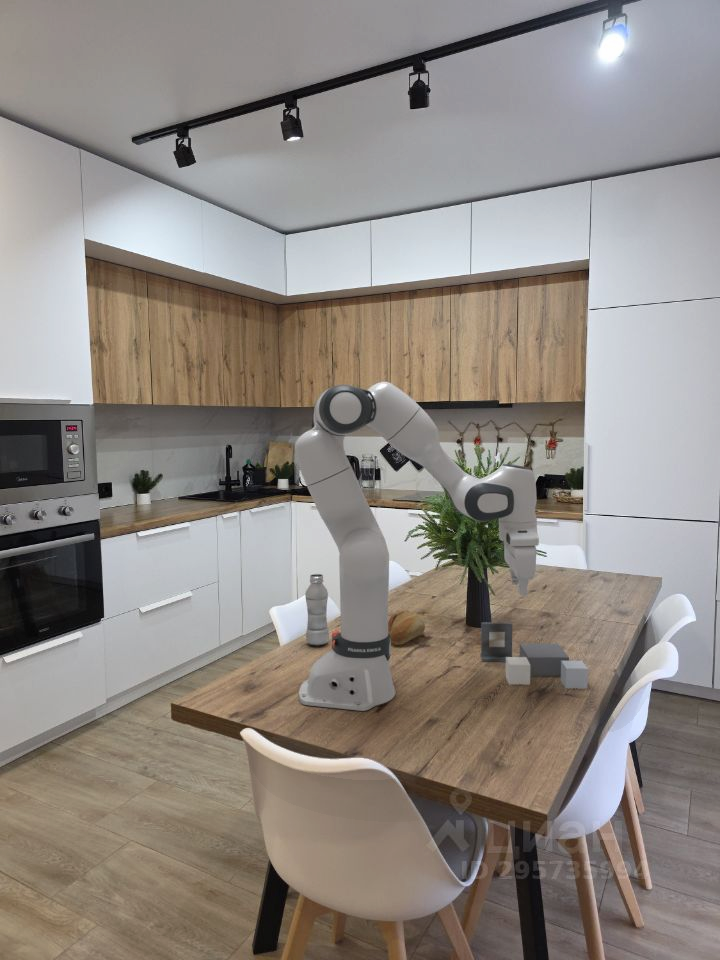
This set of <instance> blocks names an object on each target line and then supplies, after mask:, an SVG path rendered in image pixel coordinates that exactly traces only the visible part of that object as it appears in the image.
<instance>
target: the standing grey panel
mask: <svg viewBox="0 0 720 960" xmlns="http://www.w3.org/2000/svg"><path fill="white" fill-rule="evenodd" d="M480 626H481V629H480V631H481V632H480V633H481V634H480V635H481V636H480V638H481V639H480V640H481V641H480V653H479V654H480V659H481V662H482V663H483V662H492V663H495V662H496V663H500V662H501V663H506V657H513V623H512V622H481V625H480Z"/></svg>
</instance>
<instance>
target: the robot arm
mask: <svg viewBox="0 0 720 960" xmlns="http://www.w3.org/2000/svg"><path fill="white" fill-rule="evenodd" d="M364 426H366V427H369V428H372V429H373V430H374V431H376V432H378V434H379V435H380V437H382V438H383V439H384V440H385V441H386V442H387V443H388V444H389V445H390V446H391V447H392V448H394V450H396V451H397V452H399V453H400V454H402V455H403V456H405V457H406V458H407V459H409V460H411V461H414V462H415V463H417V464H419V465H420V466H421V467H423V468H424V469H425V470H426V471H427V472H428V473H429V474H430V475H431V476H432V477H433V478H434V479H435V480H436V481H437V482H438V483H439V484H440V485H441V486H442V487H443V489H445V491H446V493H447V495H448V498H449V501H450V503H451V506H452V507H453V508H454V510H455V511H456V512H457V513H459V514H460V515H463V516H467V517H468V518H471V519H472V520H474V521H477V522H482V523H483V522H489V521H493V520H498V539H499V540H500V541H502V542H504V544H503V546H504V547H503V550H504V551H503V552H504V553H503V555H504V556H503V557H504V558H503V559H504V562H505V563H506V565H507V566H508V567H509V572H510V583H511V585H513V586H514V585H515V586H517V592H518V593H517V594H519V595H520V596H527V595H528V585H529V581H530V580H534V578H535V575H536V565H537V547H538V546H539V544H540V538H539V534H538V518H537V515H536V506H537V500H538V499H537V485H536V478H535V474H534V471H533V470H532V469H531V468H529V467H527V466H523V465H518V464H509V463H508V464H507V463H505V464H501V465H500V467H498V468H497V469H496V470H495V471H494V472H492V473H490V474H487V476H484V477H481V478H480V477H478V476H475V475H473V474H469V473H468V472H466V471H464V470H463V469H462V468H461V466H459V465H458V464H457V463H456V462H455V461H454V460H453V459H452V457H451V456H449V455H448V454H447V452H446V451H445V450H444V449H443V447H442V445H441V442H440V439H439V438H440V437H439V435H440V434H439V429H438V427H437V426H436V424H435V422H434V421H433V419H432V418H431V416H430V415H429V414H428V413H427V412H426V411H425V410H424V409H423V408H422V406H420V405H419V404H418V403H417V402H416V401H415V400H414V399H413V398H412V397H410V396H409V395H408V394H407V393H405V392H404V391H403V390H402V389H400V388H399V387H397V386H395V385H394V384H393V383H391V382H389V381H379V382H377V383H374V384H373V385H371V386H370V387H369V388H368V389H364V388H360V387H356V386H354V385H350V384H337V385H334V386H332V387H330V388H327V389H326V390H324V391H323V392H322V393H321V394H320V395H319V396H318V397H317V400H316V401H315V403H314V406H313V409H312V421H311V428H310V429H309V430H307V431H305V432H304V433H302V435H300V436H299V437H298V439H297V440H296V441H295V443H294V452H295V456H296V459H297V463H298V467H299V470H300V473H301V475H302V478H303V481H304V483H305V486H306V488H307V490H308V492H309V494H310V495H311V499H312V501H313V503H314V504H315V508H316V509H317V512H318V514H319V516H320V518H321V519H322V521H323V523H324V524H325V527H326V528H327V530H328V531H329V533H330V536H331V537H332V539H333V541H334V543H335V545H336V547H337V549H338V552H339V555H338V556H339V557H338V558H339V559H338V563H339V565H338V566H339V596H340V597H339V598H340V601H339V602H340V604H339V605H340V606H339V607H340V608H339V609H340V611H339V612H340V630H337V629H336V630H333V632H332V634H331V639H332V640H331V650H329V651H328V652H327V653H325V654H324V655H322V656H321V657H320V658H318V659H317V660H316V661H315V662H314V663H313V665H312V667H311V669H310V671H309V675H308V678H307V679H306V680H304V681H303V682H302V683H301V685H300V686H299V691H298V699H299V702H300V703H301V704H302V705H304V706H312V707H321V708H332V709H341V710H342V709H343V710H351V711H360V712H365V711H368V710H370V709H372V708H375V707H376V706H379V705H382V704H385V703H388V702H390V701H391V700H392V699H394V698H395V696H396V693H397V692H396V688H395V686H394V682H393V677H392V672H391V664H390V659H391V655H392V654H391V652H392V642H391V639H390V634H389V633H388V621H389V589H390V588H389V587H390V577H389V576H390V552H389V549H388V545H387V542H386V539H385V537H384V534H383V532H382V530H381V528H380V526H379V523H378V521H377V519H376V518H375V515H374V513H373V511H372V509H371V507H370V505H369V502H368V501H367V498H366V496H365V493H364V492H363V489H362V487H361V485H360V483H359V481H358V478H357V476H356V474H355V471H354V469H353V466H352V465H351V463H350V460H349V458H348V457H347V455H346V450H345V447H344V440H345V437H346V436H348V435H350V434H352V433H353V432H357V431H358V430H360V429H362V428H363V427H364Z"/></svg>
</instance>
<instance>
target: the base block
mask: <svg viewBox="0 0 720 960" xmlns="http://www.w3.org/2000/svg"><path fill="white" fill-rule="evenodd" d="M519 657H526V658H527V660H528V661H529V663H530V677H538V676H539V677H561V661H570V657H569V655H568V654H567V652H565V650H564V649H563V648H562V647H561V645H560V643H519Z"/></svg>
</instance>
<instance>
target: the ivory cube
mask: <svg viewBox="0 0 720 960" xmlns="http://www.w3.org/2000/svg"><path fill="white" fill-rule="evenodd" d="M505 678H506V681H507V683H508V685H519V684H521V685H522V684H523V685H524V686H526V685H531V676H530V663H529V661H528V660H527V658H526V657H520V656H512V657H506V662H505Z"/></svg>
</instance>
